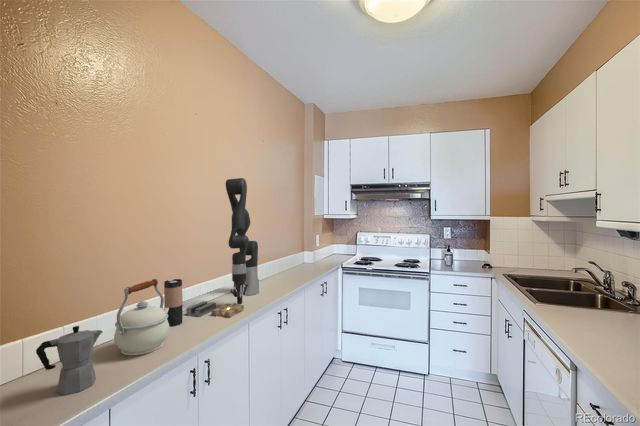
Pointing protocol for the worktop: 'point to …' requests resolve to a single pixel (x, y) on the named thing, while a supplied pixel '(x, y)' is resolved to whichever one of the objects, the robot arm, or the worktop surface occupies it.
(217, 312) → the parallel bars
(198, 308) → the v block
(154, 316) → the kettle
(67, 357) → the coffeepot
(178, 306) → the travel mug
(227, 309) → the axle
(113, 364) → the worktop surface
